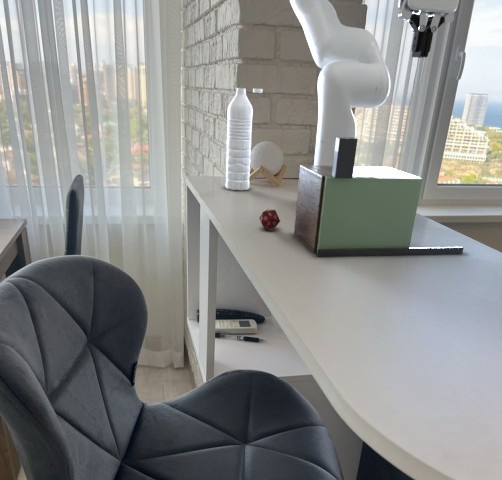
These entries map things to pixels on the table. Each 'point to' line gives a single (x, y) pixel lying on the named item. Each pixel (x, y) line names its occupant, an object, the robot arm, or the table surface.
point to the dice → (269, 219)
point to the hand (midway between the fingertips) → (419, 56)
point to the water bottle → (239, 141)
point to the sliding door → (365, 206)
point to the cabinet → (312, 205)
